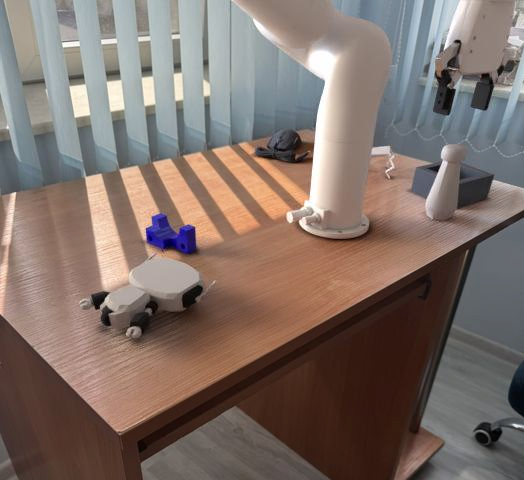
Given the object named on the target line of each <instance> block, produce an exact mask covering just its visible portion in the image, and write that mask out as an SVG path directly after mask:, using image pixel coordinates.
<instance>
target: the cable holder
mask: <svg viewBox="0 0 524 480" xmlns="http://www.w3.org/2000/svg"><path fill="white" fill-rule="evenodd" d="M144 230H145V237H146V243H147V244H150V245H153V246H155V247H156V248H159V249H161V250H166V249H169V248H173V249H174V250H176V251H179V252H181V253H184V254H186V255H189V254H191V253H193V252H195V251H197V235H196V234H197V233H196V226H194V225H191V224H189V223H188V224H186V225H184V226H181V227H179V232H176V231H175V230H173V228H172V226H171V225H170V222H169V220H168V216H167V214H164V213H162V212H160V213H158V214H155V215H152V216H151V225H150V226H147V227H145V229H144Z"/></svg>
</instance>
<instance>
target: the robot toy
mask: <svg viewBox="0 0 524 480" xmlns="http://www.w3.org/2000/svg"><path fill="white" fill-rule="evenodd" d="M157 254H158V252H157V251H156V252H153V253H152V254H151V255H150V256H149V257H148V258H147V259H145V261H143V263H140V264H139V265H137V266H135V267H133V268H132V269H131V271H130V272H129V274H128V281H129V284H128V285H125V286H123V287H120V288H118V289H116V290H114V291H112V292H111V291H110V292H109V291H107V290H106V291H105V290H102V291H98V292H94V293H91V294H90V298H83V299H81V300H80V301H79V302H78V304H79V307H80V309H81V310H83V311H86V310H87V311H89V310H90V309H92V308H93V307H94V309H95V311H97V310H100V312H101V314H100V317H99V318H100V322H101V323H102V324H103V326H105V327H111V329H112V330H121V329H125V328H127V329H126V332H125V336H126V337H127V338H132V339H138V338H139V337H141V335H144V334H145V333H146V331H147V330H148V329H149V327H150V325H151V324H150V323H151V317H150V316H151V315H155V314H157V312H158V311H159V310H161V311H165V312H172V313H173V312H184V311H185V310H186V309H190V308H191V307H193V306H194V305H196V304H198V303H200V302H201V301H202V300H203V299H204V297H205V295H207V294H208V292H209V291H210V290H211V289H212V288H213V287H215V286H216V285H217V283H218V280H213V281H212V282H211V284H210V285H209V286H208V287H207V288H205V279H204V277H203V275H202V273H200V272H199V270H197V269H196V268H194V267H192V266H190V265H189V264H187V263H186V262H182V261H181V260H177V259H173V258H168V257H156V256H157Z"/></svg>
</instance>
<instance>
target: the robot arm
mask: <svg viewBox="0 0 524 480" xmlns="http://www.w3.org/2000/svg"><path fill="white" fill-rule="evenodd" d="M230 1H231V2H232V3H233V4H234V5H236V6H237V7H238V8H239V9H240V10H242V11H243V12H244V13H245V14H246V15H248V16H249V17H250V18H252V20H253V23H254V24H255V27H256V29H257V30H258V31H259V33H260V34H261V35H262V36H263V37H264V38H265V39H266V40H268V41H269V42H270V43H272V45H274V46H276V47H277V48H278V49H280V50H281V51H282V52H283V53H285V54H286V55H288V56H289V57H290V58H291V59H293V60H294V61H296V62H297V63H298V64H300V65H301V66H302V67H303V68H304V69H306V70H308V71H309V72H310V73H312V75H315V76H316V77H318V78H319V79H321V80H323V81H324V87H323V91H322V93H321V98H320V101H319V104H318V105H319V106H318V110H317V116H316V124H315V136H314V147H313V158H312V168H311V179H310V181H311V182H310V190H309V191H310V192H309V199H305V200H304V204H303V206H301V208H300V209H294V210H291V211H288V212H287V213H286V221H287V222H288V223H289V224H293V223H299V226H300V227H301V228H302V229H303V230H305V231H306V232H308V233H309V234H312V235H314V236H317V237H321V238H325V239H333V240H334V239H335V240H346V239H352V238H357V237H361V236H362V235H364V234H365V233H367V231H368V230H369V227H370V220H369V217H368V216H367V215H366V214H364V213H363V210H364V204H365V198H366V197H365V196H366V190H367V185H368V184H367V183H368V177H369V171H370V165H371V158H372V157H371V153H372V148H374V141H375V133H376V126H377V120H378V115H379V110H380V106H381V102H382V98H383V95H384V92H385V89H386V86H387V84H388V83H387V82H388V80H389V77H390V73H391V68H392V62H393V53H392V52H393V51H392V46H391V43H390V40H389V37H388V36H387V34H386V32H385V31H384V30H383V29H382V28H381V27H380V26H379V25H377V24H376V23H375V22H372V21H370V20H367V19H363V18H360V17H356V16H351V15H347V14H344V13H343V12H342V11H341V10H339V9H338V8H337V7H336V6H334V5H333V1H332V0H230ZM516 2H517V0H459V2H458V5H457V7H456V10H455V12H454V15H453V17H452V21H451V23H450V25H449V26H450V27H449V30H448V33H447V37H446V40H445V44H444V47H443V50H442V51H441V52H440V53H438V54H437V55H435V57H434V65H435V72H434V76H435V78H436V83H435V84H436V86H437V90H436V93H435V98H434V104H433V107H432V112H433V113H435V114H438V115H441V116H445V117H446V116H450V114H451V112H452V108H453V104H454V100H455V96H456V92H457V88H454V87H456V85H457V83H458V82H459V81H460V79H461V78H462V76H470V75H478V77H479V81H476V84H475V87H474V90H473V94H472V98H471V101H470V107H471V109H476V110H480V111H483V112H484V111H486V112H487V110H488V109H489V105H490V102H491V99H492V96H493V93H494V89H495V85H497V84H498V82H499V77H501V75H502V74H503V73H504V70H505V67H506V65H507V63H508V62H509V60H510V57H511V52H510V50H508V49H507V46H508V41H509V38H510V34H511V29H512V24H513V19H514V14H515V8H516ZM451 75H452V76H451Z"/></svg>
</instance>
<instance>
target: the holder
mask: <svg viewBox="0 0 524 480" xmlns="http://www.w3.org/2000/svg"><path fill="white" fill-rule="evenodd" d="M442 162H443V160H441V161H437V162H433V163H429V164H425V165H420V166H416V167H415V169H414V173H413V178H412V182H411V183H412V184H411V188H410V192H412V193H414V194H416V195H419V196H422V197H424V198H426V199H427V197H428V195H429V193H430V191H431V188H432V186H433V184H434V181H435V179H436V176H437V174H438V172H439V169H440V167H441V164H442ZM494 178H495V174H494V173H491V172H488V171H485V170H483V169H480V168H476V167H475V166H471V165H469V164H466V163H463V162H461V166H460V178H459V191H458V203H457V208H460V207H464V206H467V205H471V204H474V203H477V202H480V201H484V200H487V199H488V198H489V195H490V190H491V187H492V184H493V182H494V181H493V180H494Z"/></svg>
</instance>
